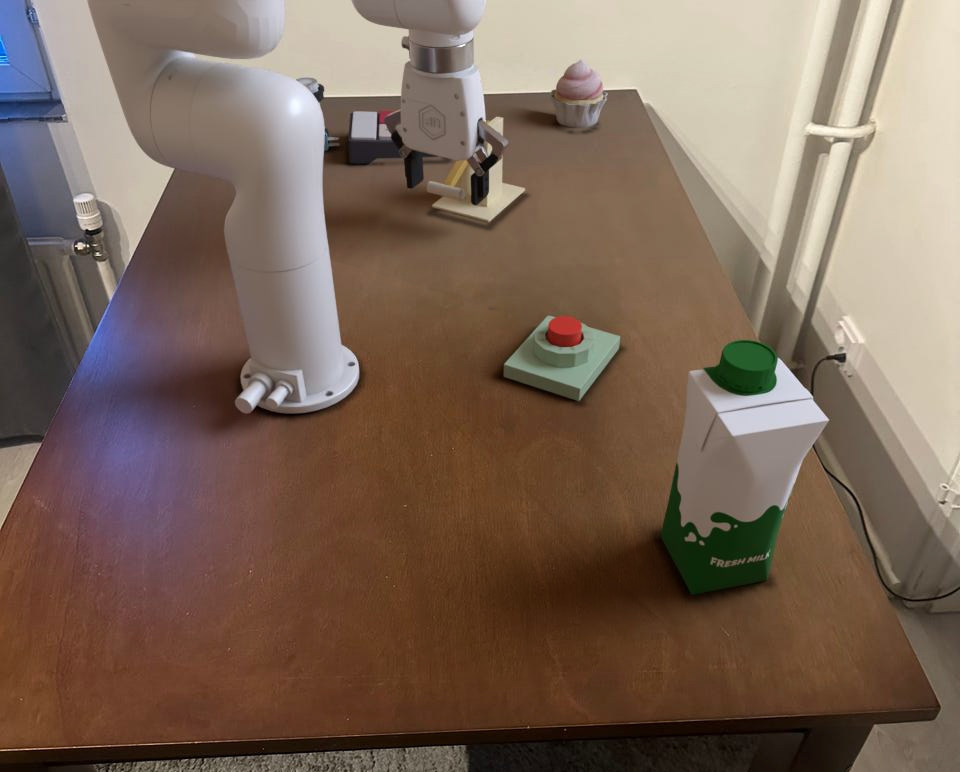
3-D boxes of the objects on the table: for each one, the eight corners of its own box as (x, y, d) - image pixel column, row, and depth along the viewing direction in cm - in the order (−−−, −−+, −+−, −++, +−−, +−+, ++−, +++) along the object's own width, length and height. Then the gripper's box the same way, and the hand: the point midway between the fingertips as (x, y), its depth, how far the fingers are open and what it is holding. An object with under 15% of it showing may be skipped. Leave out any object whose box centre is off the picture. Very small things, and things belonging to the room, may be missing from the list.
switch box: (578, 401, 94) (581, 374, 91) (503, 377, 97) (503, 350, 94) (619, 348, 100) (622, 322, 98) (547, 327, 104) (548, 301, 101)
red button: (572, 352, 95) (573, 338, 93) (541, 342, 96) (542, 329, 95) (586, 335, 97) (587, 321, 96) (556, 326, 98) (557, 312, 97)
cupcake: (612, 118, 148) (618, 54, 141) (595, 139, 142) (601, 73, 135) (558, 110, 150) (562, 46, 143) (540, 130, 144) (543, 65, 137)
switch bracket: (488, 228, 121) (489, 141, 112) (431, 213, 124) (428, 127, 116) (525, 196, 128) (528, 112, 119) (470, 182, 131) (469, 99, 122)
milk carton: (736, 514, 82) (789, 329, 68) (782, 588, 75) (852, 401, 61) (646, 530, 80) (681, 344, 66) (686, 607, 74) (734, 420, 60)
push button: (341, 141, 141) (334, 75, 134) (337, 155, 137) (329, 88, 130) (299, 141, 141) (290, 75, 134) (294, 155, 137) (284, 88, 130)
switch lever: (461, 205, 116) (457, 192, 114) (428, 197, 118) (424, 184, 116) (501, 136, 119) (498, 122, 117) (469, 129, 121) (465, 115, 119)
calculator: (448, 137, 133) (347, 135, 132) (447, 165, 136) (349, 163, 135) (445, 109, 141) (350, 107, 140) (445, 136, 144) (351, 134, 143)
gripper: (362, 51, 105) (375, 190, 117) (491, 77, 99) (491, 219, 111) (396, 32, 110) (406, 167, 122) (522, 55, 104) (518, 195, 116)
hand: (446, 192), depth 117 cm, fingers open, 9 cm apart
